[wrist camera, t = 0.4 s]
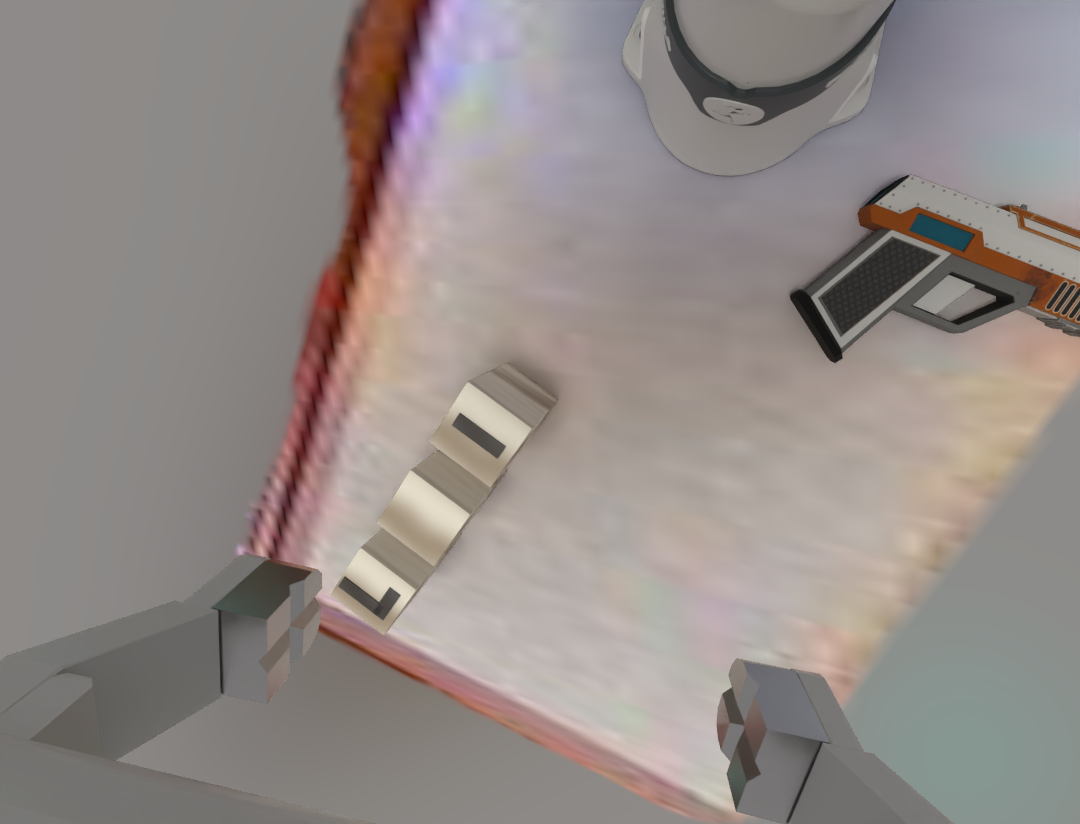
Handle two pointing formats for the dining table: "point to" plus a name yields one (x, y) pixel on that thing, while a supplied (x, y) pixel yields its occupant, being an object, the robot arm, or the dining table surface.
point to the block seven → (383, 580)
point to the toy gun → (944, 266)
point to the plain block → (434, 506)
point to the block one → (492, 421)
